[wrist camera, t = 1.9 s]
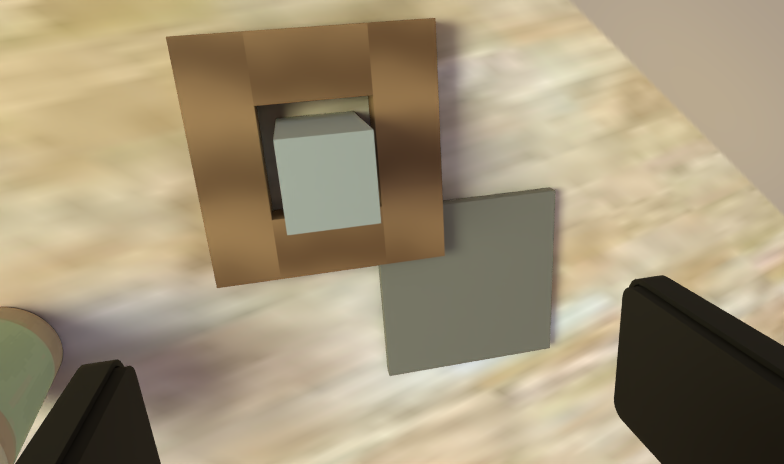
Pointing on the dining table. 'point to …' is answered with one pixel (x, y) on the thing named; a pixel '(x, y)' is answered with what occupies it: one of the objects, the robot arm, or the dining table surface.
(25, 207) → the dining table surface
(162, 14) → the dining table surface
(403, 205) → the board
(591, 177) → the dining table surface
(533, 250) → the coaster
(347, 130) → the slate block
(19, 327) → the coffee cup
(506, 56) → the dining table surface
